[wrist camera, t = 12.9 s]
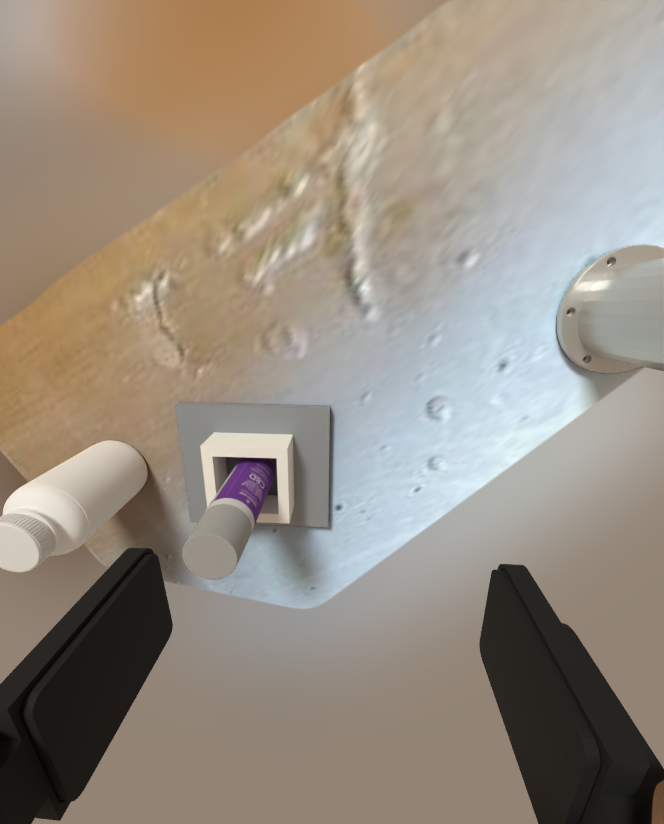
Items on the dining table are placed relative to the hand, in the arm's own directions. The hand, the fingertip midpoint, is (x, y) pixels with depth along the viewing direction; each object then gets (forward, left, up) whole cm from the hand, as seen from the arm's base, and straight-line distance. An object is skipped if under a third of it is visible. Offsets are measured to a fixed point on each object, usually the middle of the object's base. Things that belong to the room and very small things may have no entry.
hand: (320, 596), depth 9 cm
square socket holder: (+10, +12, -30) cm, 34 cm away
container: (+10, +12, -29) cm, 33 cm away
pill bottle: (+28, +13, -31) cm, 43 cm away
